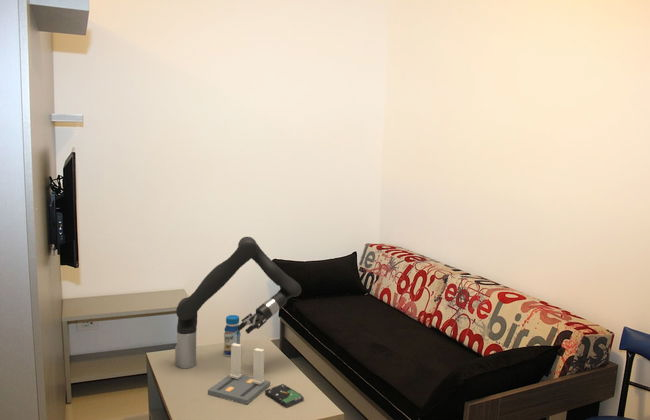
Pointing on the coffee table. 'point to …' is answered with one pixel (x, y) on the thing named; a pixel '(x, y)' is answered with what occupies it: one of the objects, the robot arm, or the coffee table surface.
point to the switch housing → (238, 389)
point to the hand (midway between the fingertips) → (242, 330)
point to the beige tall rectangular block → (258, 366)
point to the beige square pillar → (236, 361)
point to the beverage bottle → (231, 333)
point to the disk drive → (284, 395)
